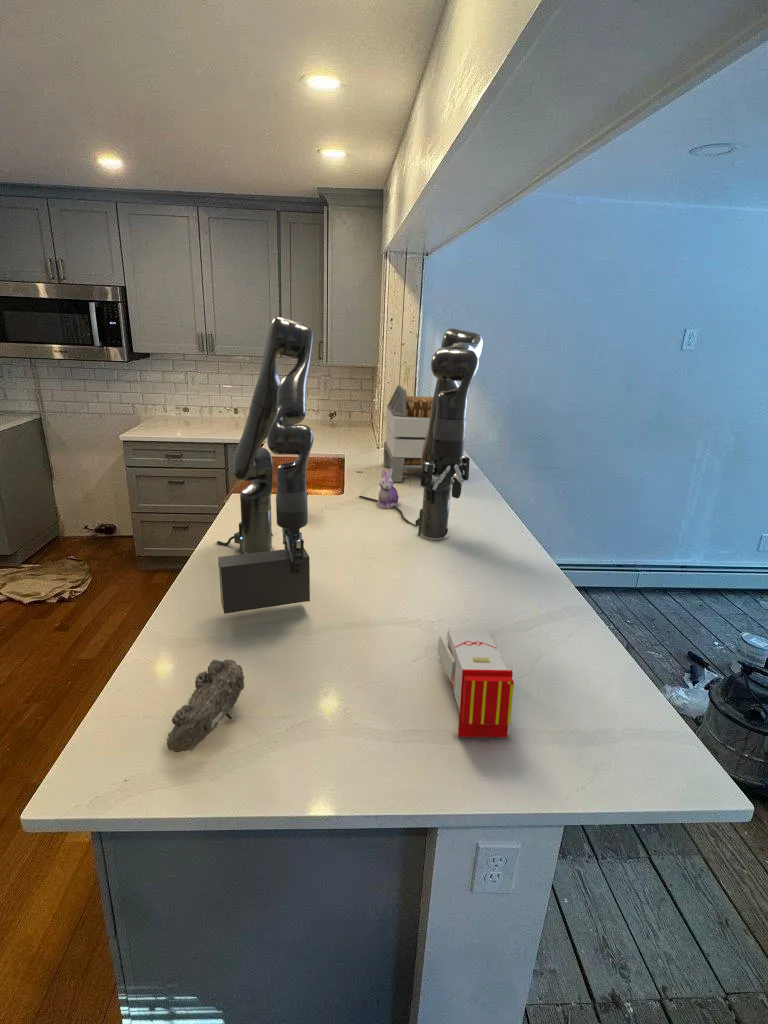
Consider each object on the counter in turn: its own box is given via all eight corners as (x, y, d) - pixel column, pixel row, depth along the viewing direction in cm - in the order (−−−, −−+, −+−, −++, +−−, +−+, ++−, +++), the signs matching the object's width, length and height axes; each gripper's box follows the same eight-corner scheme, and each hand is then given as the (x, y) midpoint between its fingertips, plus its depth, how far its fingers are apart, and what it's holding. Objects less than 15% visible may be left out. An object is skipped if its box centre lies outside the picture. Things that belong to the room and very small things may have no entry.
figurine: (383, 510, 222) (384, 473, 217) (371, 502, 230) (372, 466, 225) (404, 507, 226) (406, 471, 221) (391, 499, 234) (393, 464, 229)
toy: (488, 613, 130) (523, 677, 101) (484, 667, 133) (517, 744, 104) (435, 612, 130) (455, 676, 101) (432, 666, 133) (451, 743, 103)
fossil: (192, 660, 117) (244, 628, 112) (224, 691, 120) (276, 661, 115) (142, 746, 98) (202, 712, 93) (182, 779, 101) (242, 748, 96)
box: (223, 613, 137) (220, 567, 133) (221, 602, 143) (218, 556, 138) (310, 601, 145) (309, 556, 140) (304, 590, 150) (303, 547, 146)
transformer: (382, 463, 289) (386, 382, 275) (445, 464, 293) (451, 384, 279) (390, 482, 257) (394, 392, 243) (460, 483, 261) (468, 394, 247)
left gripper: (314, 514, 133) (314, 579, 138) (300, 496, 145) (301, 555, 151) (282, 517, 130) (284, 583, 136) (271, 498, 143) (273, 559, 148)
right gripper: (458, 430, 142) (452, 491, 147) (416, 436, 133) (412, 501, 139) (480, 435, 136) (474, 499, 142) (438, 442, 128) (433, 510, 133)
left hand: (293, 568), depth 143 cm, fingers closed on box, 6 cm apart
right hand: (443, 500), depth 140 cm, fingers open, 8 cm apart
